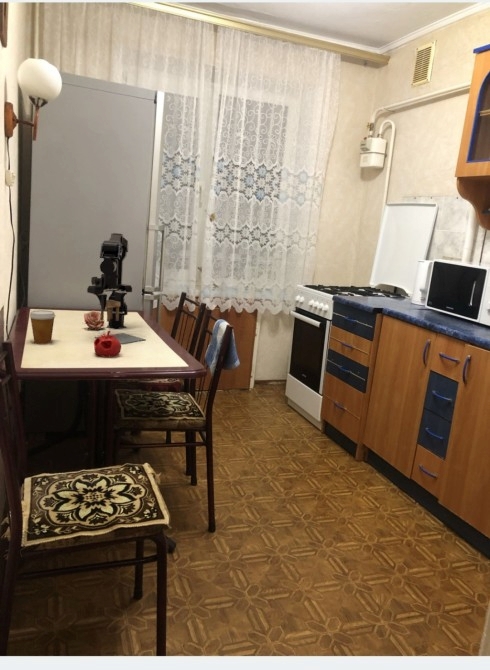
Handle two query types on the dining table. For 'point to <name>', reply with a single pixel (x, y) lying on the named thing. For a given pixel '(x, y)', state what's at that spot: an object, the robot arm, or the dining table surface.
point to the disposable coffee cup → (42, 325)
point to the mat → (126, 338)
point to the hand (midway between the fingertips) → (109, 309)
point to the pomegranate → (107, 345)
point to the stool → (110, 305)
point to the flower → (93, 320)
